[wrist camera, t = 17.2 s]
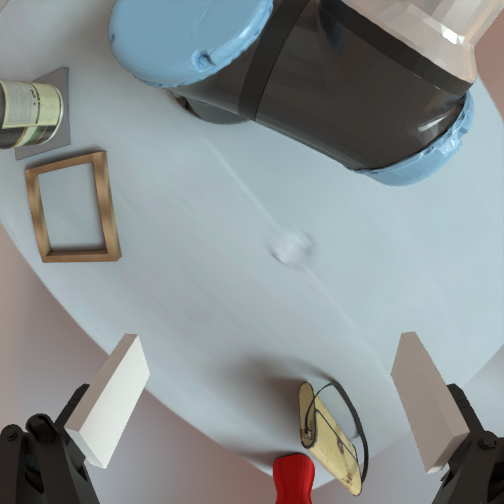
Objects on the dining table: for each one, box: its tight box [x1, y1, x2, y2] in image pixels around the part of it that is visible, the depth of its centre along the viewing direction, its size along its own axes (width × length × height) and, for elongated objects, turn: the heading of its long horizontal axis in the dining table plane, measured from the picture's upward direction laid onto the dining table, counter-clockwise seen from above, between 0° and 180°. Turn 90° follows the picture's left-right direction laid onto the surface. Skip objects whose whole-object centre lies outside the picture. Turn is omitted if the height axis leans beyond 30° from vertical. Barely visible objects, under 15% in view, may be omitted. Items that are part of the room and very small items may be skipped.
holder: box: [25, 151, 122, 263], centre depth 42 cm, size 16×16×2 cm
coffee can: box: [0, 80, 64, 150], centre depth 30 cm, size 10×10×14 cm
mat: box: [15, 67, 71, 160], centre depth 37 cm, size 13×13×1 cm
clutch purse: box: [299, 382, 368, 496], centre depth 47 cm, size 30×7×15 cm, turn 31°
